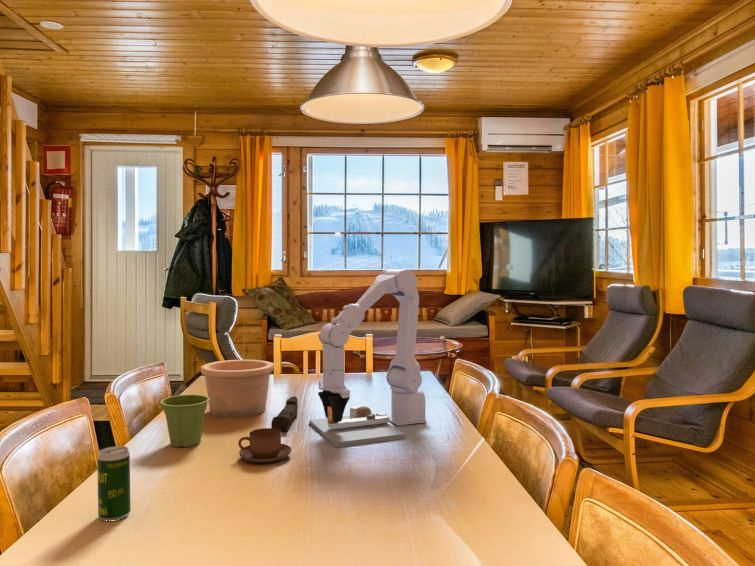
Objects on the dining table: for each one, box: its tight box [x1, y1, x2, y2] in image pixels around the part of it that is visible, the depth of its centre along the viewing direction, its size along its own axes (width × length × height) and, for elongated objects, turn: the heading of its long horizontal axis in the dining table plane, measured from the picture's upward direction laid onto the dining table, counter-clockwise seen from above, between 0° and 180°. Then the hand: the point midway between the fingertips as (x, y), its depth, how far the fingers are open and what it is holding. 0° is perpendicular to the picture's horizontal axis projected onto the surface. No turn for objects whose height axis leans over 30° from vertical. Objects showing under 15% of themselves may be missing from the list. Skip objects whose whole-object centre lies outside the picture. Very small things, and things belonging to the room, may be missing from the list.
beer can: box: [96, 445, 132, 521], centre depth 107 cm, size 5×5×12 cm
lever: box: [327, 405, 391, 429], centre depth 162 cm, size 18×5×6 cm, turn 113°
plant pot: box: [160, 394, 210, 448], centre depth 150 cm, size 12×12×11 cm
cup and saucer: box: [237, 427, 292, 464], centre depth 139 cm, size 12×12×6 cm
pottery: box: [200, 359, 275, 419], centre depth 182 cm, size 22×22×14 cm
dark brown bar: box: [270, 396, 299, 434], centre depth 170 cm, size 23×5×6 cm, turn 175°
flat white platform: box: [308, 404, 406, 448], centre depth 161 cm, size 19×23×4 cm
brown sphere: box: [359, 406, 372, 418], centre depth 169 cm, size 4×4×4 cm
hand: (333, 419), depth 157 cm, fingers open, 4 cm apart
